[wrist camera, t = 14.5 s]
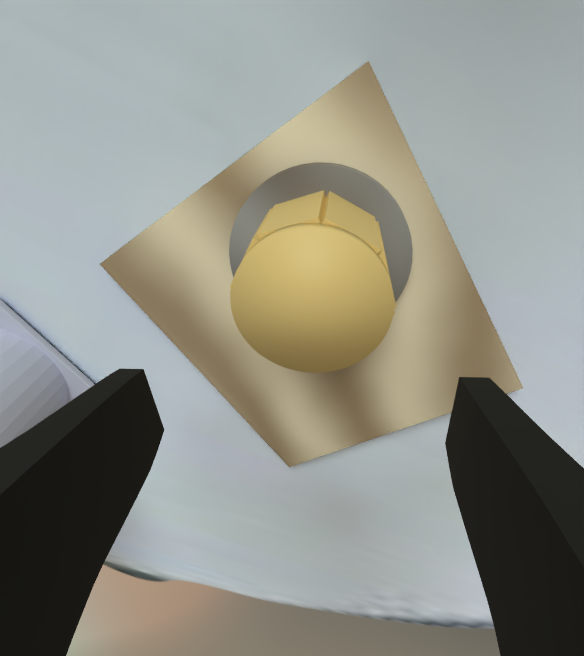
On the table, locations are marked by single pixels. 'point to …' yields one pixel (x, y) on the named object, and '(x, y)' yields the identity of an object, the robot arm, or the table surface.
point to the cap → (314, 285)
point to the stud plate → (402, 259)
